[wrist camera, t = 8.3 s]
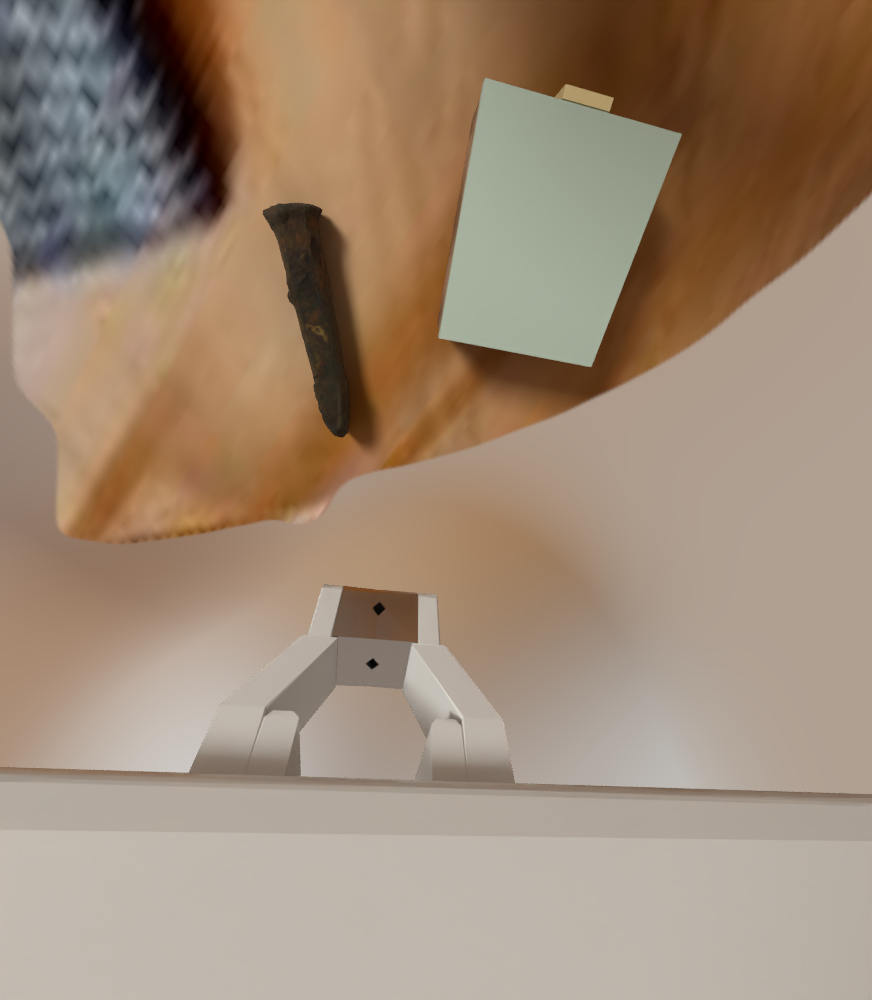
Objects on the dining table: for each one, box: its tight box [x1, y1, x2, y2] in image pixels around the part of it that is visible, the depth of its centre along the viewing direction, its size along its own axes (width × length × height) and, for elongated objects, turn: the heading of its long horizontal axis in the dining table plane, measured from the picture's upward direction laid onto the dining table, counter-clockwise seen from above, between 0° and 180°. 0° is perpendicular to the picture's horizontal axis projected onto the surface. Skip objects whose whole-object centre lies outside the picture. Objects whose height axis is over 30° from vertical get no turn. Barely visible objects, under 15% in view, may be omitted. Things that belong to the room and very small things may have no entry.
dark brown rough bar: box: [263, 203, 350, 437], centre depth 34 cm, size 19×4×5 cm, turn 2°
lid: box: [439, 78, 682, 367], centre depth 27 cm, size 15×12×3 cm
